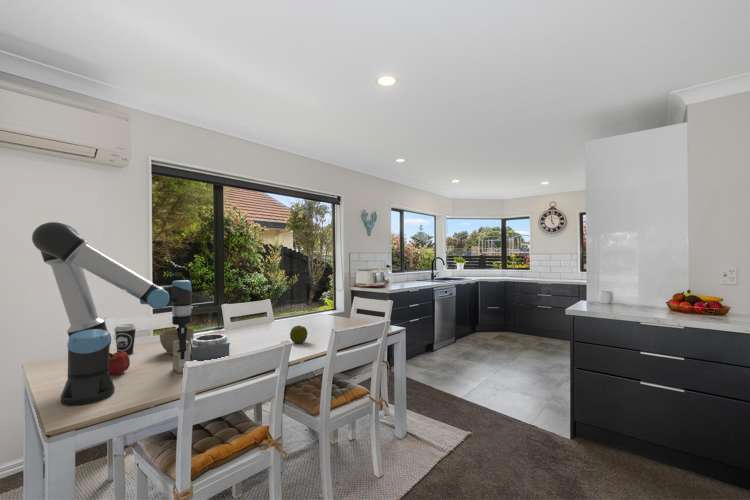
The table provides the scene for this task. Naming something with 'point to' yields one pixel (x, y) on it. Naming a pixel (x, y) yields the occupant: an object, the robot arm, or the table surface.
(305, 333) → the olive green ball
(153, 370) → the table surface
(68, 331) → the robot arm
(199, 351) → the housing
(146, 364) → the table surface
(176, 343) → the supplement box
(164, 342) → the planter bowl
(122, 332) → the coffee cup
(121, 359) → the vegetable
